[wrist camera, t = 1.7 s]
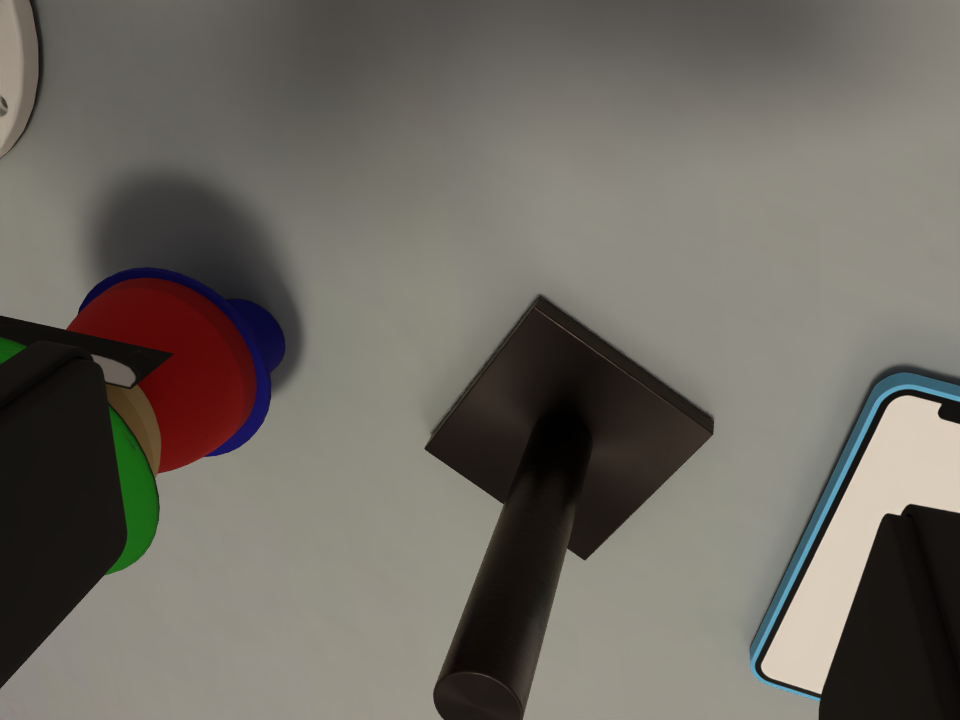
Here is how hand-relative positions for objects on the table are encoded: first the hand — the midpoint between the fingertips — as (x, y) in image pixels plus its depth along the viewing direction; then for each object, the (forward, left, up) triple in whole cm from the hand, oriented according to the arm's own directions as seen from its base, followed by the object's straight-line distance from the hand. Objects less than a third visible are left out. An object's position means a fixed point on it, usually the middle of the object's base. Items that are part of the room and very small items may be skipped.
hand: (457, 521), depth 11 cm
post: (+5, -11, -22) cm, 25 cm away
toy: (-9, -16, -22) cm, 29 cm away
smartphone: (+18, -7, -22) cm, 29 cm away
